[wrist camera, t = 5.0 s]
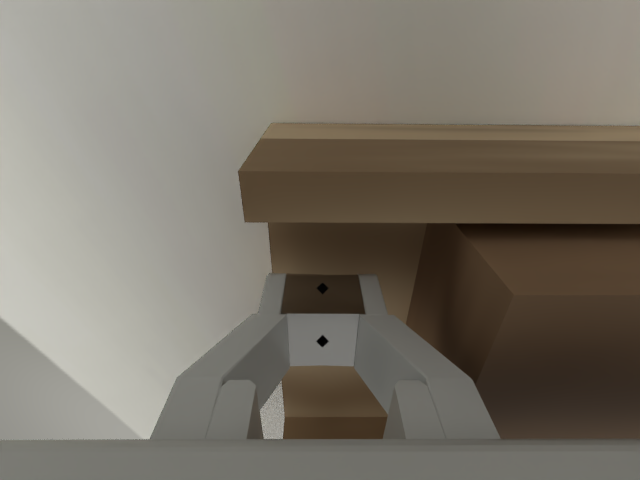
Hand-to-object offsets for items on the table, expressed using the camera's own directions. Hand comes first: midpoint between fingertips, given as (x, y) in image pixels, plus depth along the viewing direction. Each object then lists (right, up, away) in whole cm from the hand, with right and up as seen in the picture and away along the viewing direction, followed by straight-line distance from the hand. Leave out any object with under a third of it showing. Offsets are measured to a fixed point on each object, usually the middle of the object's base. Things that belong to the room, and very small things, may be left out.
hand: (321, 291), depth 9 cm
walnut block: (+6, +1, +1) cm, 6 cm away
